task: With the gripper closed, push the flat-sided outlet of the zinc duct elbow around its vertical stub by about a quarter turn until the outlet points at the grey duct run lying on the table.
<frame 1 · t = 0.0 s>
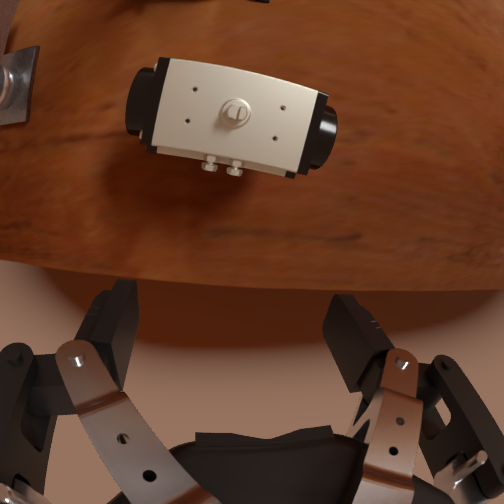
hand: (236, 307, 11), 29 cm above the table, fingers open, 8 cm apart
ball valve: (224, 121, 35), on the table
duct stub: (6, 88, 25), on the table
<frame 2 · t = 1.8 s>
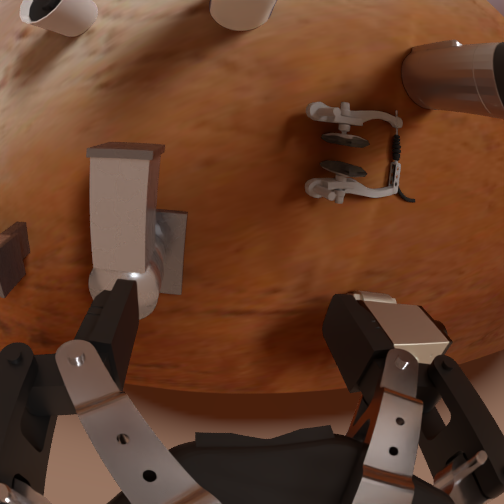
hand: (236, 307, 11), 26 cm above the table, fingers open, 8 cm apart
elbow: (124, 237, 28), point 8 cm above the table, hinge at 0.0°
ball valve: (362, 301, 47), on the table
bike brake: (365, 152, 36), on the table
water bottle: (239, 5, 25), on the table
duct stub: (141, 249, 37), on the table
white cup: (79, 18, 22), on the table
duct run: (4, 235, 33), on the table
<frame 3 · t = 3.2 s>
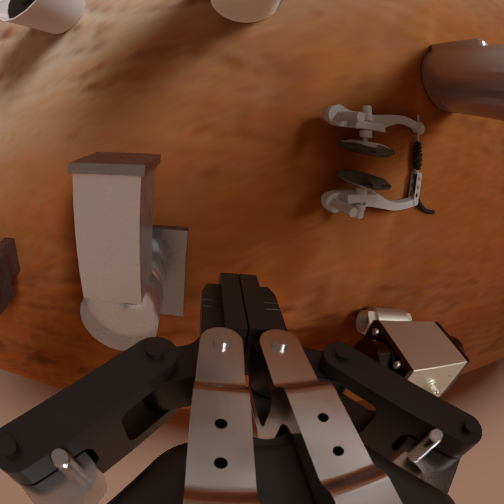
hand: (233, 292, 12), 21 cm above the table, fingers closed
elbow: (117, 261, 24), point 8 cm above the table, hinge at 0.0°
ball valve: (376, 316, 43), on the table
bike brake: (385, 160, 32), on the table
duct stub: (138, 268, 34), on the table
white cup: (65, 14, 18), on the table
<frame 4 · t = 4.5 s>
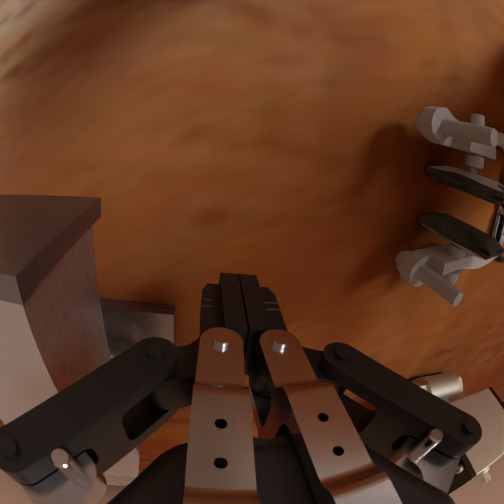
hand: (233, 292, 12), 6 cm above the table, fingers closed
elbow: (55, 393, 11), point 8 cm above the table, hinge at 0.0°
ball valve: (422, 382, 30), on the table
bike brake: (472, 195, 19), on the table
duct stub: (105, 355, 21), on the table
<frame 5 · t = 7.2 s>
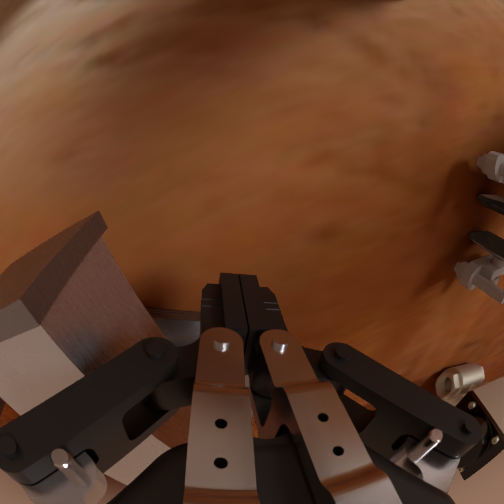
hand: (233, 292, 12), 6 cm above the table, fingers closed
elbow: (144, 422, 12), point 8 cm above the table, hinge at 28.9°, touching hand
ball valve: (450, 372, 32), on the table
bike brake: (502, 214, 21), on the table
duct stub: (191, 368, 22), on the table
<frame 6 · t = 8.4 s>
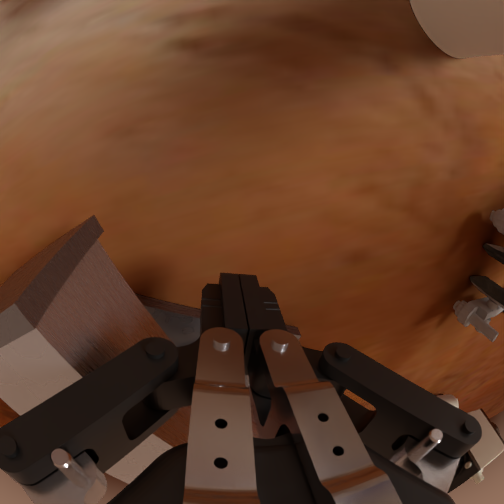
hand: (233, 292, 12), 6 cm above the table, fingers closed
elbow: (151, 424, 12), point 8 cm above the table, hinge at 42.9°, touching hand
ball valve: (427, 401, 34), on the table
bike brake: (499, 263, 24), on the table
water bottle: (442, 12, 12), on the table
duct stub: (200, 369, 22), on the table
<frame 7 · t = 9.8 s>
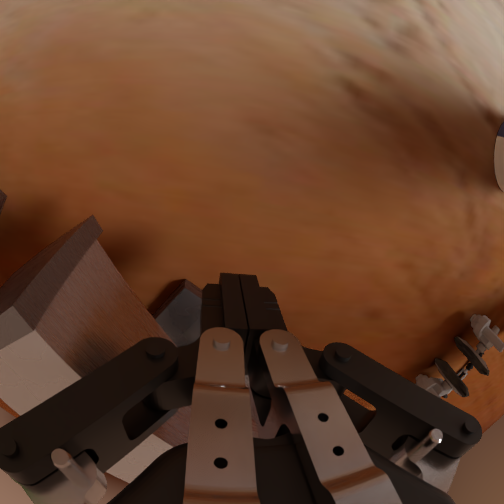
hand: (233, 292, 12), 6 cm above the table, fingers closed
elbow: (152, 423, 12), point 8 cm above the table, hinge at 67.7°, touching hand
bike brake: (458, 355, 30), on the table
duct stub: (201, 367, 22), on the table
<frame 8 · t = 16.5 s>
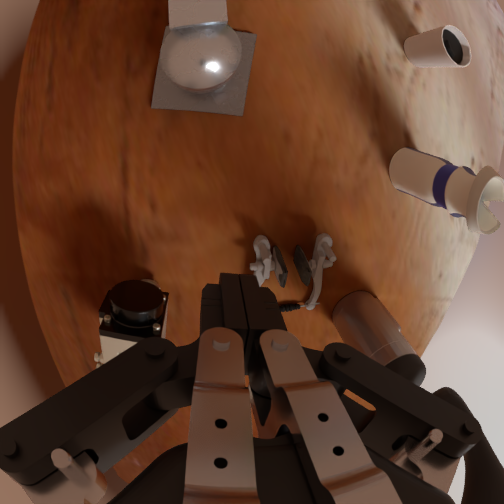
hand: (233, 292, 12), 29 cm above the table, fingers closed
elbow: (198, 13, 22), point 8 cm above the table, hinge at 103.3°
ball valve: (145, 299, 46), on the table
bike brake: (282, 282, 48), on the table
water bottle: (407, 168, 41), on the table
duct stub: (203, 69, 32), on the table
white cup: (416, 52, 32), on the table
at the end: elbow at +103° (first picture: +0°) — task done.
